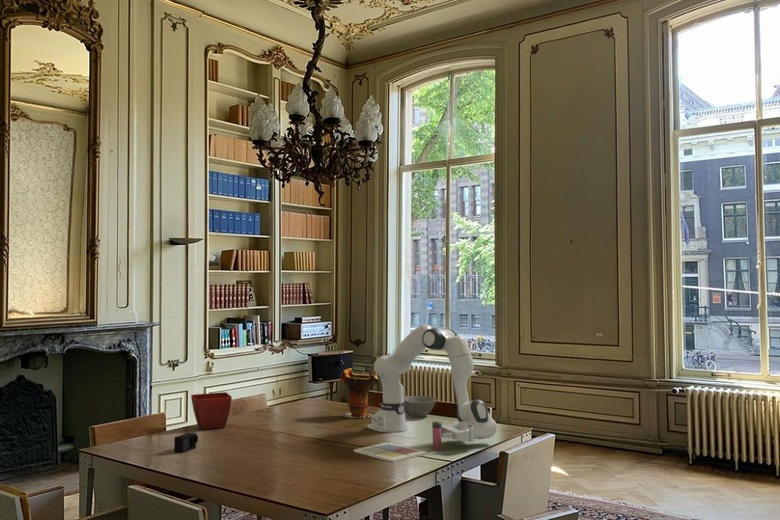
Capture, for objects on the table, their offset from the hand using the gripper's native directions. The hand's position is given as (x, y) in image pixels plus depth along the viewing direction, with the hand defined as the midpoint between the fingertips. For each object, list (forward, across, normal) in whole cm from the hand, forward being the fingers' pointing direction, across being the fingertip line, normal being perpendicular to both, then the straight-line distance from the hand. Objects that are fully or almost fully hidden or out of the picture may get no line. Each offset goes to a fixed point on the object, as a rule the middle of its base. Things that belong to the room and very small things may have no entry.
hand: (437, 433), depth 289 cm
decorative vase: (+4, -92, +7) cm, 93 cm away
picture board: (+23, -2, +7) cm, 24 cm away
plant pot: (+88, -97, +8) cm, 131 cm away
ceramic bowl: (-27, -78, +7) cm, 83 cm away
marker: (0, 0, +7) cm, 7 cm away
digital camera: (+105, -46, +8) cm, 115 cm away
